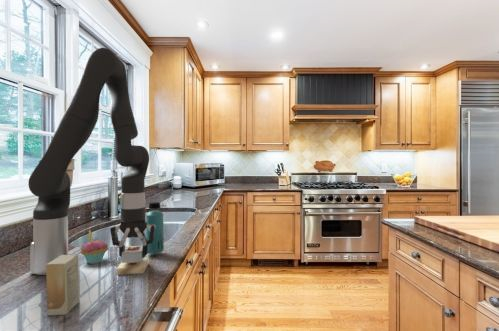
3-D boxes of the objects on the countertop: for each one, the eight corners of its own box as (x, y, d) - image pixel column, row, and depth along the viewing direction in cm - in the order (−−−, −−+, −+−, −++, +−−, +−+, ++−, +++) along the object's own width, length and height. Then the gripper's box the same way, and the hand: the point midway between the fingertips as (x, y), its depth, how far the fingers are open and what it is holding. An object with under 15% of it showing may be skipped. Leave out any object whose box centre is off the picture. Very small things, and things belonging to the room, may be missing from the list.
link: (121, 263, 89) (121, 252, 89) (126, 256, 95) (126, 246, 95) (141, 261, 90) (141, 251, 90) (144, 255, 96) (144, 245, 96)
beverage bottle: (158, 258, 102) (158, 203, 102) (141, 257, 104) (141, 203, 103) (167, 252, 109) (167, 201, 108) (151, 251, 110) (151, 200, 110)
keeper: (116, 274, 88) (116, 252, 88) (123, 265, 96) (123, 244, 96) (143, 273, 89) (143, 251, 89) (147, 263, 97) (147, 243, 97)
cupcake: (93, 267, 94) (92, 231, 94) (74, 263, 97) (74, 229, 97) (113, 258, 102) (113, 225, 102) (96, 255, 105) (95, 223, 105)
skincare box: (61, 302, 71) (61, 254, 71) (79, 301, 71) (79, 253, 71) (45, 316, 65) (44, 263, 64) (65, 315, 65) (64, 263, 65)
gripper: (106, 208, 87) (106, 262, 88) (154, 207, 90) (155, 259, 90) (113, 205, 95) (113, 254, 95) (157, 203, 97) (158, 251, 98)
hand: (133, 256), depth 93 cm, fingers closed on link, 6 cm apart
